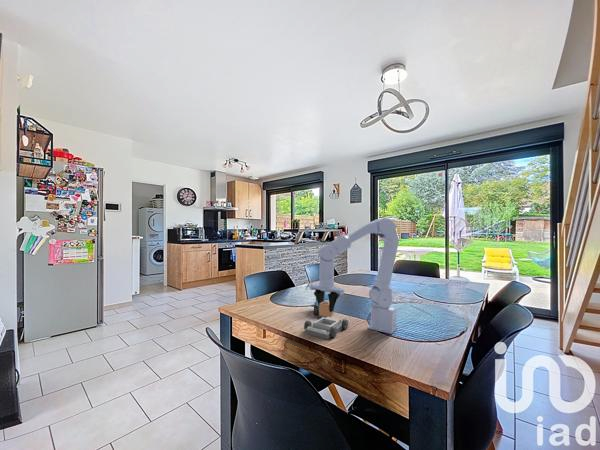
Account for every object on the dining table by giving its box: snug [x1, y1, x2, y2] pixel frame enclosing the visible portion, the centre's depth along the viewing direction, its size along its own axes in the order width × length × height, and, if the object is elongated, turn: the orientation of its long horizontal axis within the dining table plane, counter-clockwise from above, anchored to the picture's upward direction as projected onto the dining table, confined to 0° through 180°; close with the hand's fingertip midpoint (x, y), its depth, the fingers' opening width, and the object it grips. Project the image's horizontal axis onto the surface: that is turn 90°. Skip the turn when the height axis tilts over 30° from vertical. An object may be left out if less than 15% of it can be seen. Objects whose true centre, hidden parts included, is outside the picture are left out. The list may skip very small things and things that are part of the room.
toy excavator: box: [313, 292, 330, 316], centre depth 126 cm, size 9×17×17 cm, turn 174°
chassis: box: [303, 314, 349, 340], centre depth 102 cm, size 12×16×4 cm
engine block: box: [318, 300, 334, 317], centre depth 102 cm, size 4×4×5 cm
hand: (326, 310), depth 103 cm, fingers closed on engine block, 4 cm apart
